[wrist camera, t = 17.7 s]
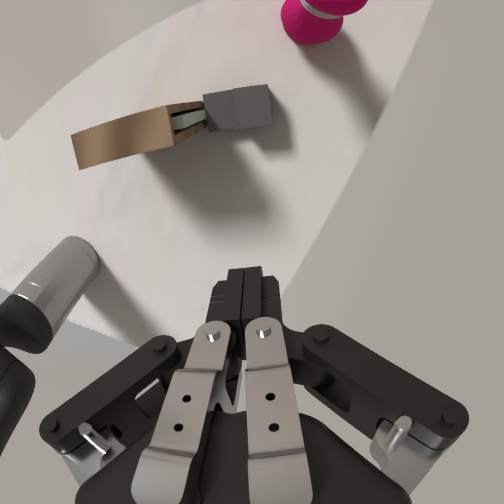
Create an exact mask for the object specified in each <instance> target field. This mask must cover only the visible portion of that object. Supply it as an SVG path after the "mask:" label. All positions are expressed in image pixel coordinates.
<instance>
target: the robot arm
mask: <svg viewBox="0 0 504 504" xmlns="http://www.w3.org/2000/svg"><path fill="white" fill-rule="evenodd" d="M98 271H99V260H98V256H97V254H96V252H95V251H94V249H93V248H92V247H91V246H90V245H89V244H88V243H87V242H86V241H84V240H83V239H81V238H78V237H72V236H71V237H67V238H65V239H64V240H63V241H61V242H60V243H59V244H58V245H57V246H56V247H55V248H54V249H53V250H52V251H51V252H50V253H49V254H48V255H47V256H46V257H45V258H44V259H43V260H42V261H41V262H40V263H39V264H38V265H37V266H36V267H35V268H34V269H33V270H32V271H31V272H30V273H29V274H28V275H27V276H26V277H25V279H24V280H23V281H22V282H21V283H20V284H19V285H18V286H17V287H16V288H15V290H14V291H13V292H12V293H11V294H10V295H9V297H8V298H7V299H6V300H5V301H4V302H3V303H2V304H1V305H0V456H1V454H2V452H3V450H4V448H5V446H6V444H7V442H8V440H9V438H10V436H11V435H12V433H13V431H14V429H15V427H16V425H17V424H18V422H19V420H20V418H21V416H22V415H23V413H24V411H25V409H26V407H27V405H28V403H29V401H30V399H31V397H32V394H33V392H34V388H35V376H34V374H33V372H32V371H31V370H30V369H29V368H28V367H27V366H26V365H25V364H23V363H22V362H21V361H20V360H18V359H17V358H16V357H15V356H14V355H13V354H11V353H10V352H9V351H8V350H7V349H5V348H4V347H13V348H17V349H20V350H23V351H26V352H28V353H32V354H40V353H42V352H43V351H45V350H46V349H47V347H48V346H49V344H50V343H51V341H52V339H53V338H54V336H55V335H56V333H57V331H58V330H59V329H60V327H61V325H62V324H63V322H64V321H65V319H66V318H67V316H68V315H69V313H70V312H71V310H72V309H73V307H74V306H75V305H76V303H77V302H78V300H79V299H80V297H81V296H82V295H83V293H84V292H85V290H86V289H87V288H88V286H89V285H90V283H91V282H92V281H93V279H94V278H95V277H96V275H97V274H98ZM242 360H246V361H247V369H246V370H245V388H246V409H247V411H243V412H239V413H237V404H238V398H239V392H240V385H241V379H242V371H241V367H242ZM157 378H158V380H159V382H158V383H157V384H155V385H154V386H153V387H151V388H150V389H149V390H148V391H147V392H145V393H144V394H142V395H141V396H140V397H139V398H137V399H136V400H135V397H136V395H137V394H138V393H139V392H141V391H142V390H143V389H144V388H146V387H147V386H148V385H149V384H151V383H152V382H153V381H154V380H155V379H157ZM293 383H294V384H300V385H304V387H305V389H306V390H307V391H308V392H310V393H311V394H312V395H313V396H314V397H316V398H317V399H318V400H319V401H321V402H322V403H323V404H325V405H326V406H327V407H328V408H330V409H331V410H332V411H334V412H335V413H336V414H337V415H339V416H340V417H341V418H343V419H344V420H345V421H347V422H348V423H349V424H351V425H352V426H353V427H355V428H356V429H357V430H359V431H360V432H362V433H363V434H364V435H366V436H367V437H368V438H370V439H371V440H372V442H371V445H370V452H371V455H372V457H373V458H374V459H375V460H376V461H377V462H378V464H379V465H380V467H381V470H379V469H378V468H377V467H375V466H374V465H373V464H372V463H370V462H369V461H368V460H367V459H365V458H364V457H363V456H362V455H360V454H359V453H358V452H357V451H355V450H354V449H353V448H352V447H351V446H349V445H348V444H347V443H346V442H344V441H343V440H342V439H341V438H340V437H338V436H337V435H336V434H335V433H334V432H333V431H331V430H330V429H329V428H328V427H327V426H326V425H324V424H323V423H322V422H320V421H319V420H317V419H315V418H313V417H311V416H308V415H305V414H302V413H298V408H297V402H296V396H295V391H294V385H293ZM468 423H469V415H468V412H467V410H466V408H465V407H464V406H463V405H462V404H461V403H459V402H457V401H456V400H454V399H452V398H451V397H449V396H447V395H446V394H444V393H442V392H440V391H439V390H437V389H435V388H434V387H432V386H430V385H429V384H427V383H425V382H423V381H421V380H420V379H418V378H417V377H415V376H413V375H412V374H410V373H408V372H407V371H405V370H403V369H402V368H400V367H398V366H396V365H395V364H393V363H391V362H390V361H388V360H386V359H385V358H383V357H381V356H380V355H378V354H377V353H375V352H373V351H371V350H370V349H368V348H366V347H365V346H363V345H361V344H360V343H358V342H357V341H355V340H353V339H352V338H350V337H349V336H347V335H345V334H344V333H342V332H340V331H339V330H337V329H335V328H334V327H332V326H329V325H324V324H320V325H314V326H311V327H309V328H308V329H307V330H305V332H304V333H303V332H297V331H293V330H290V329H288V328H287V327H286V326H285V325H284V324H283V322H282V311H281V300H280V291H279V282H278V281H277V279H276V278H275V277H274V276H265V277H263V274H262V267H261V266H257V267H247V268H238V269H229V271H228V276H227V280H225V281H218V282H217V284H216V285H215V286H214V287H213V290H212V294H211V299H210V303H209V308H208V313H207V317H206V322H205V324H203V325H202V326H200V327H199V328H198V330H197V332H196V334H195V337H193V338H191V339H188V340H185V341H181V342H178V343H176V340H175V339H174V338H173V337H171V336H167V335H161V336H157V337H154V338H152V339H151V340H149V341H148V342H147V343H145V344H144V345H143V346H141V347H140V348H139V349H137V350H136V351H135V352H133V353H132V354H131V355H129V356H128V357H126V358H125V359H124V360H122V361H121V362H120V363H118V364H117V365H116V366H114V367H113V368H112V369H110V370H109V371H108V372H106V373H105V374H104V375H102V376H101V377H99V378H98V379H97V380H95V381H94V382H92V383H91V384H90V385H88V386H87V387H86V388H84V389H83V390H82V391H80V392H79V393H77V394H76V395H75V396H73V397H72V398H70V399H69V400H68V401H66V402H65V403H64V404H62V405H61V406H60V407H58V408H57V409H55V410H54V411H52V412H51V413H50V414H48V415H47V416H46V417H45V418H44V419H43V420H42V422H41V424H40V428H39V432H40V436H41V438H42V439H43V440H44V441H45V442H47V443H48V444H49V445H50V446H51V447H53V448H54V450H55V451H56V452H58V453H59V454H60V455H61V456H62V457H63V459H64V461H65V462H66V464H67V466H68V467H69V469H70V470H71V472H72V474H73V476H74V477H75V479H76V480H77V482H78V484H79V485H80V488H79V490H78V492H77V494H76V498H75V504H412V501H411V499H410V497H409V495H410V494H411V492H412V491H413V490H414V489H415V488H416V486H417V485H418V484H419V483H420V482H421V480H422V479H423V478H424V476H425V475H426V474H427V473H428V471H429V470H430V468H431V467H432V466H433V464H434V463H435V462H436V461H437V460H438V459H439V458H440V457H441V456H442V455H443V454H444V453H445V452H446V451H447V450H448V448H449V447H450V446H451V445H452V444H453V443H454V442H455V441H456V440H457V439H458V438H459V437H460V435H461V434H462V433H463V432H464V431H465V430H466V428H467V426H468Z"/></svg>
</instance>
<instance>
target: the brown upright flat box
mask: <svg viewBox="0 0 504 504" xmlns="http://www.w3.org/2000/svg"><path fill="white" fill-rule="evenodd" d="M198 110H203V105H202V101H197V102H188V103H180V104H172V105H165V106H161V107H157V108H154V109H150V110H146V111H142V112H139V113H135V114H132V115H128V116H125V117H122V118H119V119H115V120H112V121H109V122H106V123H103V124H100V125H97V126H94V127H92V128H89V129H86V130H83V131H81V132H78V133H75V134H73V135H71V138H72V143H73V147H74V151H75V155H76V159H77V163H78V167H79V170H82V169H85V168H88V167H92V166H95V165H98V164H102V163H105V162H109V161H113V160H116V159H120V158H124V157H128V156H132V155H136V154H140V153H144V152H148V151H153V150H157V149H162V148H166V147H171V146H175V145H176V144H178V143H179V142H181V141H183V140H184V139H186V138H188V137H189V136H191V135H192V134H194V133H196V132H198V131H199V130H201V129H203V128H204V127H206V123H205V119H204V120H201V121H199V122H197V123H195V124H192V125H190V126H188V127H186V128H182V129H177V130H174V129H173V124H172V119H171V116H174V115H179V114H184V113H188V112H193V111H198Z"/></svg>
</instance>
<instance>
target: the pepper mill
mask: <svg viewBox="0 0 504 504" xmlns="http://www.w3.org/2000/svg"><path fill="white" fill-rule="evenodd" d="M367 1H368V0H286V1H285V2H284V4H283V6H282V9H281V19H282V23H283V27H284V30H285V32H286V33H287V35H288V36H289V37H290V38H292V39H293V40H295V41H297V42H299V43H302V44H308V45H309V44H317V43H321V42H325V41H328V40H330V39H332V38H333V37H334V36H336V35H337V33H338V32H339V31H340V29H341V27H342V24H343V16H344V15H349V14H352V13H355V12H357V11H359V10H360V9H361V8H362V7H364V5H365V4H366V3H367Z"/></svg>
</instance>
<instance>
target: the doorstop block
mask: <svg viewBox="0 0 504 504" xmlns="http://www.w3.org/2000/svg"><path fill="white" fill-rule="evenodd" d="M203 101H204V107H205V113H206V119H207V124H208V130H209V132H213V131H219V130H226V129H232V128H239V129H245V128H253V127H261V126H270V125H273V120H272V113H271V105H270V98H269V91H268V84H265V85H257V86H249V87H241V88H235V89H233V90H227V91H221V92H215V93H210V94H204V95H203Z"/></svg>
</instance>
